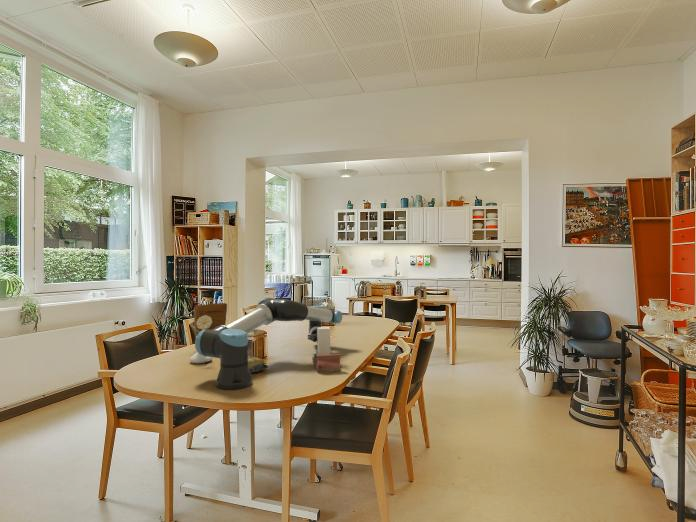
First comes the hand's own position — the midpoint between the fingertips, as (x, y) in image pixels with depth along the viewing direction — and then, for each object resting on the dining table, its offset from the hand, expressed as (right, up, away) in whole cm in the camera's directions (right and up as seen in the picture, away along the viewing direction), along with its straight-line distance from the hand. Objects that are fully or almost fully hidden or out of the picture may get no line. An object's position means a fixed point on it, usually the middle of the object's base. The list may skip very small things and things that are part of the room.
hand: (322, 342), depth 220 cm
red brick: (+3, -9, -13) cm, 16 cm away
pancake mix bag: (-68, -10, +25) cm, 74 cm away
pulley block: (-36, -10, -15) cm, 41 cm away
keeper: (+2, -7, -7) cm, 10 cm away
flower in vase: (-63, -10, -4) cm, 64 cm away
